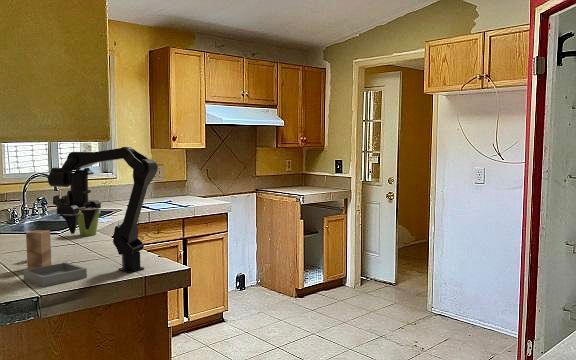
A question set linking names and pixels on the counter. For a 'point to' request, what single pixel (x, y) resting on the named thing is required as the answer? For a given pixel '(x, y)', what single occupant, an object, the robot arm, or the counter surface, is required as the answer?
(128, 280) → the counter surface
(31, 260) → the walnut block
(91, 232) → the plant pot
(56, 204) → the robot arm
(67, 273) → the box
